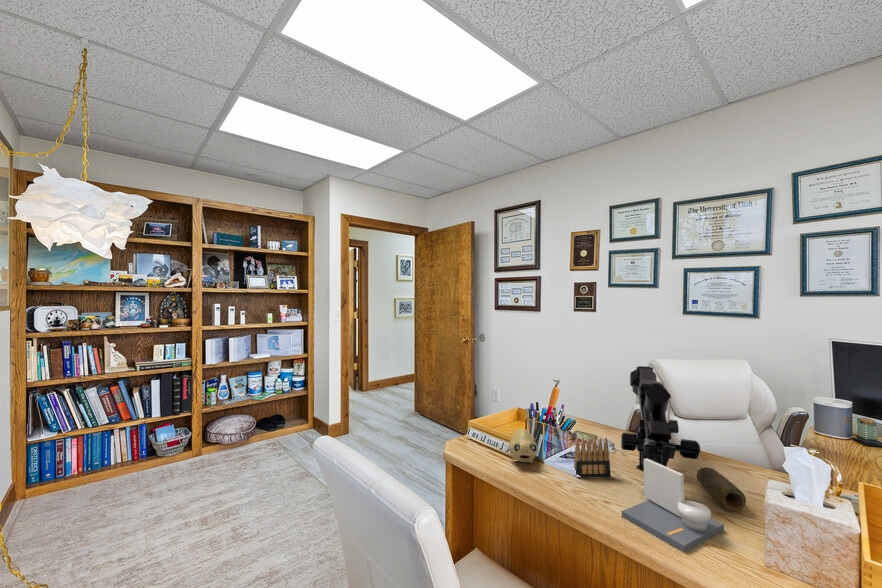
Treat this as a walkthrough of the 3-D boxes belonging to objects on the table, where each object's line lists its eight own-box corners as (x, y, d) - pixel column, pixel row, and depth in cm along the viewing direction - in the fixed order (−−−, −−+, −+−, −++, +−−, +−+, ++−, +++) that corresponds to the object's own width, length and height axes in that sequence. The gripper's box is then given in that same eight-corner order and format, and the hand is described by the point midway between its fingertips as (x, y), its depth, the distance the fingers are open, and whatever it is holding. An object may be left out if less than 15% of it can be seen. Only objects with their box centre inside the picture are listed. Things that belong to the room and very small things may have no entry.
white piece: (717, 527, 86) (716, 483, 86) (699, 534, 83) (698, 489, 83) (654, 493, 100) (653, 456, 101) (637, 499, 98) (636, 460, 98)
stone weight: (752, 516, 94) (752, 489, 94) (722, 514, 95) (721, 487, 95) (717, 486, 108) (717, 463, 109) (691, 484, 109) (691, 461, 110)
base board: (621, 516, 94) (621, 502, 94) (661, 500, 101) (660, 487, 101) (683, 552, 80) (683, 536, 80) (724, 530, 88) (723, 515, 88)
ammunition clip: (608, 474, 116) (607, 436, 116) (610, 477, 114) (610, 438, 114) (573, 475, 116) (573, 436, 116) (576, 478, 114) (575, 438, 114)
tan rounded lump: (510, 469, 120) (509, 436, 120) (507, 454, 132) (506, 424, 132) (541, 471, 119) (540, 437, 119) (535, 455, 131) (535, 424, 131)
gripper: (621, 404, 107) (624, 457, 97) (697, 411, 100) (710, 469, 90) (619, 423, 115) (622, 475, 104) (691, 430, 107) (702, 487, 97)
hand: (662, 476), depth 99 cm, fingers closed
